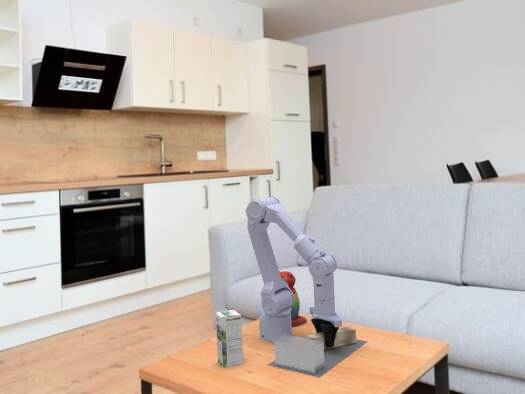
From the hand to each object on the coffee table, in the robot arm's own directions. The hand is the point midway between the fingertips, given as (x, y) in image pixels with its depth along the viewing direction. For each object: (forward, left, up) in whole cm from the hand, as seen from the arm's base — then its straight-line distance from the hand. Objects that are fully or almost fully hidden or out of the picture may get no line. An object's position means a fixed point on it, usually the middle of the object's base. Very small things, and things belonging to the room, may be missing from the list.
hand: (326, 344), depth 143 cm
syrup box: (-18, -21, -2) cm, 28 cm away
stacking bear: (-24, +16, -2) cm, 29 cm away
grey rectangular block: (0, -14, -1) cm, 15 cm away
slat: (0, 0, -1) cm, 1 cm away
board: (0, -4, -2) cm, 4 cm away
